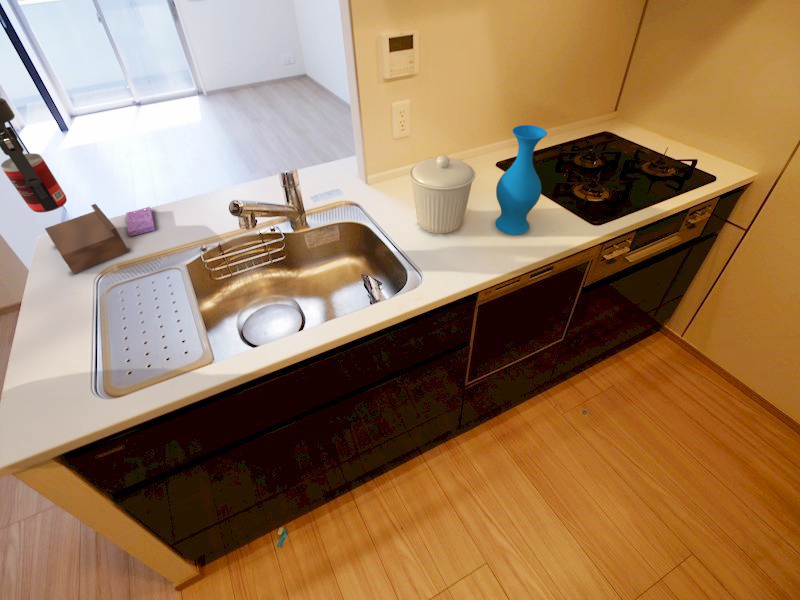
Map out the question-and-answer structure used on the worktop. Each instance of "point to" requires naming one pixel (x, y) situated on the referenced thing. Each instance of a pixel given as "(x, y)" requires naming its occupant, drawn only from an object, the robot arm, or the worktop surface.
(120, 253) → the wooden lipped board
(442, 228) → the canister
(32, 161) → the canned food
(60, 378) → the worktop surface
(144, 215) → the sponge
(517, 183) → the vase
